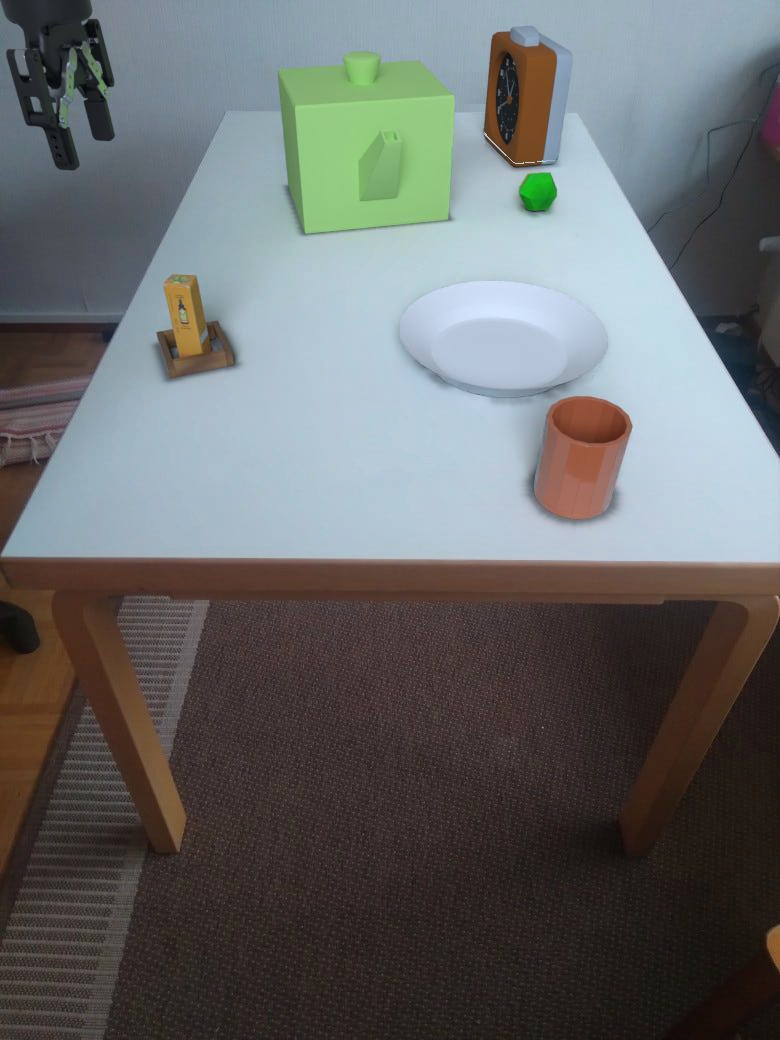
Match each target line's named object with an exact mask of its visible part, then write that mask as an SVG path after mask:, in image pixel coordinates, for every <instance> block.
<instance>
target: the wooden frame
mask: <svg viewBox="0 0 780 1040" xmlns="http://www.w3.org/2000/svg"><path fill="white" fill-rule="evenodd" d="M206 325H207V330H208V335H209V340H212V339H216V342H217V344H218V346H219V349H217V350H211V352H207V353H202V354H197V355H192V356H187V357H182V358H179V357H178V358H172V355H171V352H170V348H171V347H177V345H176V340H175V335H174V331H173V328H170V329H166V330H165V329H164V330H160V331H156V332H155V334H156V338H157V342H158V344H159V345H158V346H159V349H160V351H161V355H162V358H163V361H164V364H165V368H166V371H167V373H168V377H169V379H173V378H178V377H183V376H188V375H193V374H197V373H203V372H207V371H211V370H212V371H213V370H217V369H222V368H226V367H230V366H234V365H235V362H234V361H235V360H234V355H233V350H232V348H231V345H230V343H229V341H228V339H227V337H226V335H225V332H224V331H223V328H222V326H221V324H220V322H219V320H218V319H217V320H212V321H206Z"/></svg>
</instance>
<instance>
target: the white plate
mask: <svg viewBox="0 0 780 1040" xmlns="http://www.w3.org/2000/svg"><path fill="white" fill-rule="evenodd" d="M398 333H399V339H400V341H401V343H402V345H403V347H404V348H405V350H406V352H408V353H409V355H410V356H411V357H412V358H413V359H415V361H417V362H418V363H419V364H421V365H422V366H424V367H425V368H427V369H428V370H430V371H432V372H434V373H435V374H436V375H437V376H438V377H439V378H440V379H442V380H443V381H444V382H446V383H448V384H449V385H451V386H453V387H455V388H458V389H460V390H462V391H465V392H468V393H472V394H476V395H478V396H479V395H480V396H485V397H493V398H506V399H507V398H522V397H530V396H534V395H537V394H541V393H545V392H547V391H549V390H552V389H553V388H555V387H558V386H560V385H562V384H565V383H568V382H570V381H573V380H575V379H578V378H580V377H582V376H583V375H586V374H587V373H588V372H590V371H592V369H594V368H595V367H597V366H598V365H599V363H601V361H602V359H604V357H605V355H606V352H607V350H608V346H609V336H608V333H607V329H606V327H605V326H604V323H603V322H602V320H601V319H600V318H599V317H598V316H597V315H596V313H595V312H593V310H591V309H590V308H589V307H587V306H586V305H585V304H583V303H581V302H580V301H578V300H576V299H575V298H573V297H571V296H568V295H566V294H564V293H562V292H559V291H557V290H553V289H550V288H547V287H544V286H539V285H537V284H531V283H525V282H518V281H510V280H476V281H475V280H474V281H467V282H460V283H455V284H451V285H447V286H444V287H440V288H438V289H435V290H433V291H430V292H428V293H426V294H424V295H423V296H420V297H419V298H418V299H416V300H414V301H413V302H412V303H411V304H410V305H409V306H408V307H407V308H406V309H405V311H404V312H403V314H402V316H401V318H400V320H399V325H398Z"/></svg>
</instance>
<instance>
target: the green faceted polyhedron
mask: <svg viewBox="0 0 780 1040" xmlns="http://www.w3.org/2000/svg"><path fill="white" fill-rule="evenodd" d="M518 189H519V190H518V194H519V197H520V199H521V201H522V204H523V206H524V209H525V210H526V211H543V210H549V209H550V207H551V206H552V204H553V203H554V202H555V200H556V198H557V197H558V189H557V186H556V183H555V181H554V178H553V176H552V173H551V172H550V171H549V172H547V171H545V172H543V171H541V172H531V173H529V172H528V173H527V174H526V176H525V177H524V179H523V180H522V182H521V184H520V185H519V186H518Z"/></svg>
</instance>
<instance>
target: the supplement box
mask: <svg viewBox="0 0 780 1040" xmlns="http://www.w3.org/2000/svg"><path fill="white" fill-rule="evenodd" d="M198 280H199V279H198V277H197V275H196V274H177V273H176V274H175V273H172V274H170V275H169V277H168V278H167V279H165V281H164V283H163V284H162V287H163V291H164V296H165V299H166V303H167V308H168V313H169V317H170V322H171V326H172V329H173V331H174V335H175V340H176V345H177V346H176V349H177V354H178V358H182V357H187V356H192V355H197V354H202V353H207V352H212V346H211V341H210V340H211V339H209V335H208V330H207V325H206V323H207V321H206V316H205V310H204V307H203V302H202V295H201V290H200V285H199V281H198Z"/></svg>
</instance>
